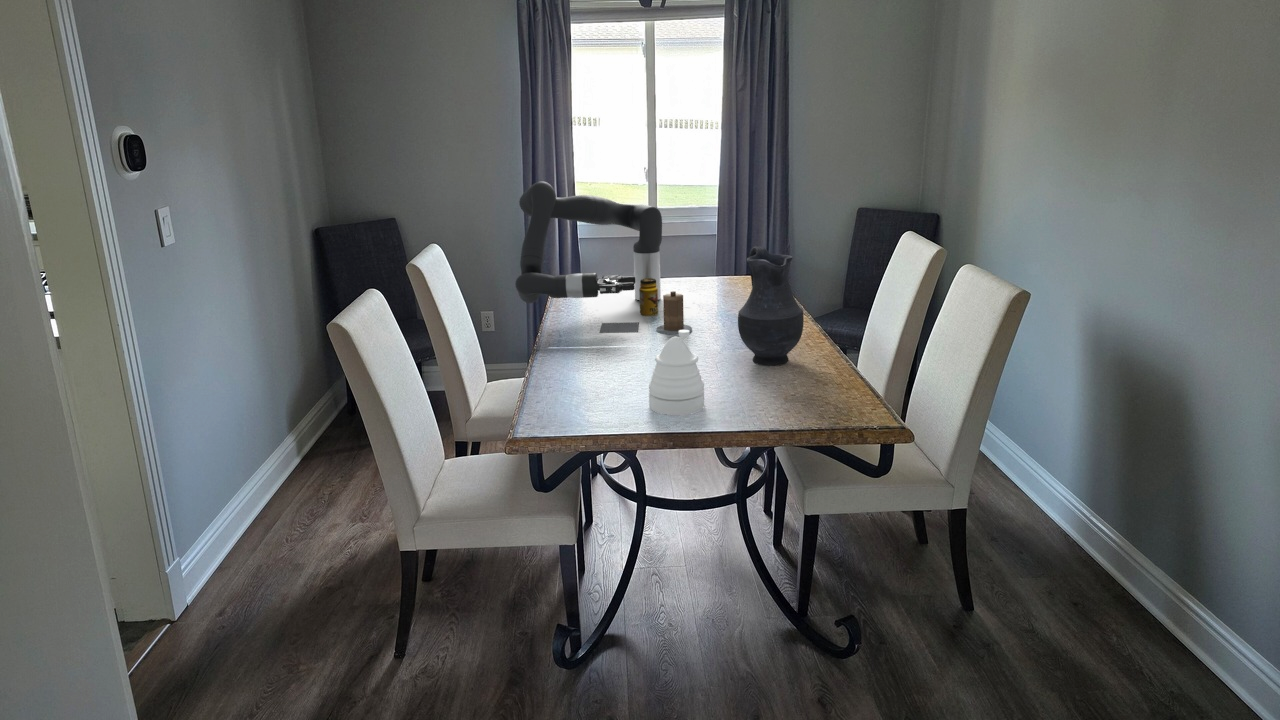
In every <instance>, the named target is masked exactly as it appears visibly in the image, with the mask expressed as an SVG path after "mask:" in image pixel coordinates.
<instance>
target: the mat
mask: <svg viewBox="0 0 1280 720" xmlns="http://www.w3.org/2000/svg"><path fill="white" fill-rule="evenodd" d="M639 329H640V321H639V322H638V321H636V322H626V321H625V322H601V326H600V329H599V332H598V334H615V333H616V334H619V333H622V334H623V333H624V334H625V333H627V334H629V333H639V331H640V330H639Z"/></svg>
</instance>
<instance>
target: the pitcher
mask: <svg viewBox="0 0 1280 720" xmlns="http://www.w3.org/2000/svg"><path fill="white" fill-rule="evenodd" d="M793 258H794V257H793V256H792V255H788V254H780V253H778V254H777V253H770V252H769V251H768V250H767V248H765V247H764V246H761V245H760V246H756V245H755V246H753V247H752V248H751V249H750V252H749V256H748V257H747V258H746V262H747V263H748V265H749V273H750V279H751V290H750V293H749V296H748V298H747V300H746V302H745V304H744V305H743V306H742V307H741V308H740V309H739V311H738V314H737V328H738V332H739V336H740V339H741V340H742V342H743V344H744V345H745V347H746V348H747V349H749V350H750V351H751V352H752V353H753V354H754V356H753V357H752V362H753V363H754V364H756V365H757V366H758V365H759V366H765V367H775V366H777V367H778V366H782V365H785V364H788V363H789V360H790V359H789V357H788V354H789V353H790V352H791V351H792V350H793V349H794V348H795V347H796V346H797V345H798V344H799V342H800V340H801V338H802V335H803V331H804V322H805V321H804V310H803V308H802V307H801V306H800V305H799V304H798V303H797V300H796V299H795V296H794V294H793V292H792V289H791V285H790V282H789V277H788V271H789V266H790V263H791V262H792V260H793Z"/></svg>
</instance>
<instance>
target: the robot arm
mask: <svg viewBox="0 0 1280 720" xmlns="http://www.w3.org/2000/svg"><path fill="white" fill-rule="evenodd" d="M556 196H557V195H556V191H555V189H554V187H553V186H552V185H551V184H550V183H548V182H547V181H542V180H541V181H537V182H535V183H533V184H532V185H530V187H529V188H527V190H525V191H524V192H523V193H522V194H521V196H520V198H519V201H518V202H519V207H520V209H521V211H522V212H523V213H525V214H526V215H527V216H530V221H529V225H528V228H527V230H526V232H525V236H524V238H523V242H522V246H521V251H520V252H521V253H520V260H519V267H520V271H521V274H520V275H519V276H518V277H517V278H516V280H515V282H514V283H515V289H516V291H517V293H518V296H519V298H520V299H521V300H522V301H523V302H525V303H527V304H533V303H536V302H538V300H539V299H540V297H542V296H541V295H547V296H548V297H550V298H552V299H567V298H569V299H570V298H571V299H584V298H585V299H587V298H597V297H599V294H600V295H604V294H606V295H607V294H620V293H621V292H624V291H634V299H637V300H640V294H639V289H640V287H641V286H640V284H641V283H640V280H641V279H645V278H653V279H655V280H656V287H657V290H658V301H660V300H661V299H660V298H662V297H661V293H662V292H661V289H662V288H661V256H660V255H661V253H660V252H661V251H660V250H661V249H660V248H661V244H662V239H663V217H662V213H661V211H660V210H659V208H657V207H656V206H653V205H648V204H629V203H627V204H626V203H619V202H616V201H613V200H610V199H608V198H605V197H601V196H597V195H590V194H579V195H578V194H577V195H570V196H564V197H556ZM551 219H560V220H567V221H571V222H572V221H573V222H579V223H585V224H591V225H598V226H610V225H611V226H612V225H618V226H620V227H621V226H622V227H624V228H625V227H626V228H629V229H632V230H634V231H638V232H639V238H638V240H637V241H636V242H634V244H633V248H632V249H633V276H632V275H631V276H623V275H621V274H613V275H602V276H601V278H598V273H596V272H580V273H579V272H578V273H576V272H575V273H570V274H559V275H558V274H557V275H556V274H554V275H551V274H546V273H543V264H544V257H545V248H546V247H545V246H546V241H547V235H548V230H549V225H550V222H551V221H550V220H551ZM637 300H636V301H637Z"/></svg>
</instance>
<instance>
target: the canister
mask: <svg viewBox="0 0 1280 720" xmlns="http://www.w3.org/2000/svg"><path fill="white" fill-rule="evenodd" d="M662 300H663V301H662V302H663V303H662V305H663V325H664V330H667V331H679V330H683V329H684V325H685V324H684V322H685V320H684V319H685V318H684V295H683V294H682V293H677V292H676V291H670V293H666V294H663V296H662Z"/></svg>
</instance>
